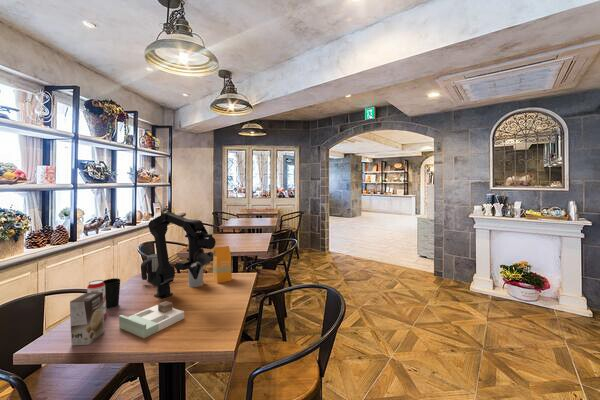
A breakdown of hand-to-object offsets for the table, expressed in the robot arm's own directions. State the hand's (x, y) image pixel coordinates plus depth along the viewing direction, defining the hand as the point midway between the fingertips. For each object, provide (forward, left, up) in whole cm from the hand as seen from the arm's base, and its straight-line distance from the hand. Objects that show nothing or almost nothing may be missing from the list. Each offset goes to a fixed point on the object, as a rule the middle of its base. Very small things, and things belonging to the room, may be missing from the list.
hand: (195, 279), depth 137 cm
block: (-1, -16, -9) cm, 18 cm away
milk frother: (-43, +11, -12) cm, 46 cm away
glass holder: (-23, +20, -12) cm, 32 cm away
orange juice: (-13, +31, -12) cm, 36 cm away
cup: (-33, -21, -12) cm, 41 cm away
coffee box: (-11, -41, -12) cm, 44 cm away
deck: (-1, -22, -12) cm, 25 cm away
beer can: (-25, -31, -12) cm, 41 cm away
